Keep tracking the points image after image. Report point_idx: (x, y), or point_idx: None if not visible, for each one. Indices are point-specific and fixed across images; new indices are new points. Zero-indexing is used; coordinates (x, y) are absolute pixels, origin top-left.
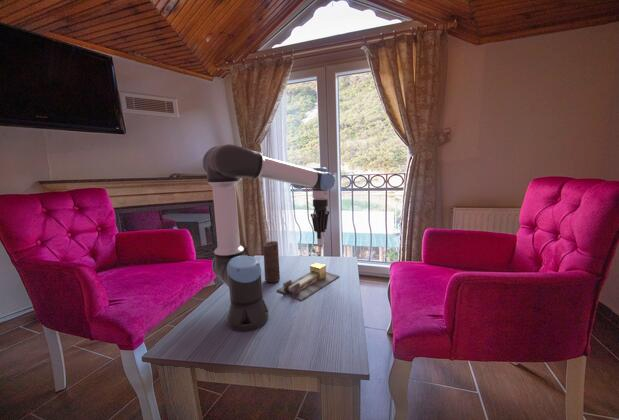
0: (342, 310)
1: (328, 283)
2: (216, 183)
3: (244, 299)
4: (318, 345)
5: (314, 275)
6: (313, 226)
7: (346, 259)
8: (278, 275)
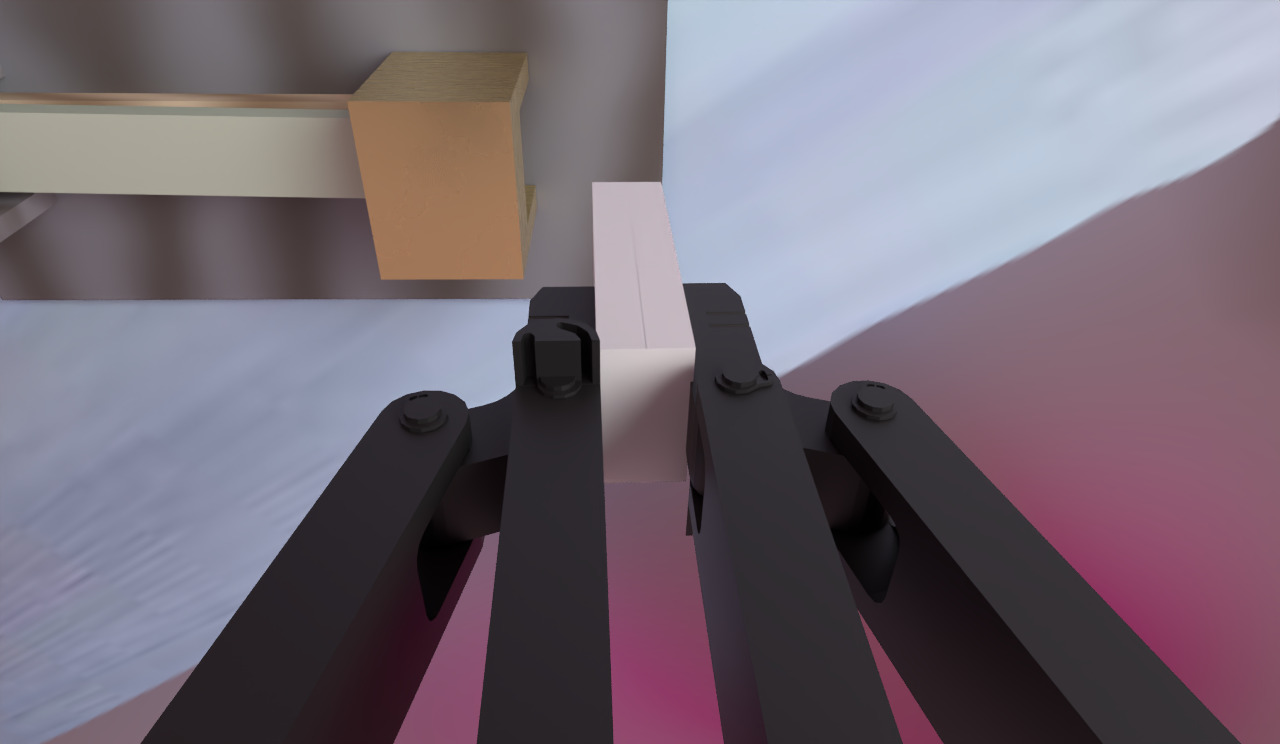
0: (215, 563)
1: (448, 294)
2: None
3: None
4: None
5: (345, 186)
6: (291, 546)
7: (1237, 70)
8: None
